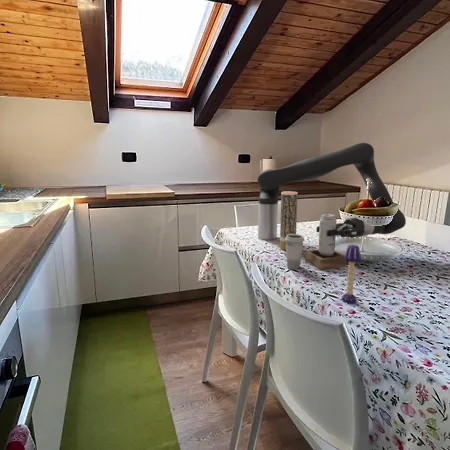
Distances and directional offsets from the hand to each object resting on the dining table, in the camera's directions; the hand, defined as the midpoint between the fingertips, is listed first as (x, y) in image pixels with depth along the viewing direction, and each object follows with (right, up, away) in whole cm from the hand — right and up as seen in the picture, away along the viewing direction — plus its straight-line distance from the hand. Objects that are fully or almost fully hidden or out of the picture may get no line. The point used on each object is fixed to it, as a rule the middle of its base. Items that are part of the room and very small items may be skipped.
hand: (322, 231), depth 128 cm
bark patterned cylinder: (-9, -8, +23) cm, 26 cm away
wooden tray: (+2, -13, +4) cm, 13 cm away
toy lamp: (+1, -20, -27) cm, 33 cm away
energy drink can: (+3, -9, +3) cm, 10 cm away
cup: (-11, -14, +1) cm, 17 cm away
